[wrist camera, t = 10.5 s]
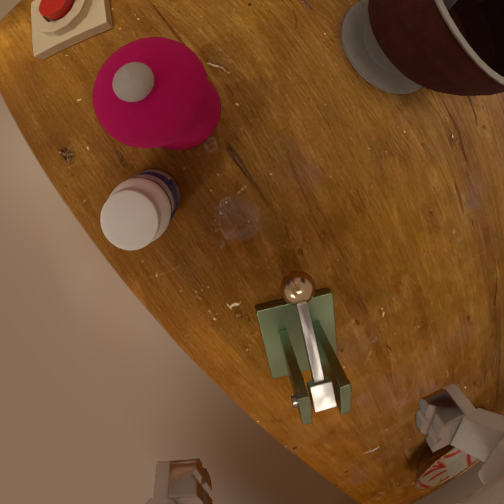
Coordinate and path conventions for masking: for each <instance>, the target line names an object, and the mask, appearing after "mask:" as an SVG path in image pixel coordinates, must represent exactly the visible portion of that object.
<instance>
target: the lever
mask: <svg viewBox="0 0 504 504" xmlns="http://www.w3.org/2000/svg"><path fill="white" fill-rule="evenodd" d="M280 290H281V295H282V297H283V298H284V300H285V301H286V302H288V303H289V304H291V305H295V306H296V309H297V313H298V318H299V322H300V326H301V331H302V335H303V340H304V344H305V349H306V353H307V358H308V362H309V367H310V371H311V376H312V380H310V381H307V387H308V391H309V396H310V401H311V405H312V407H313V409H314V411H315V412H319V411H323V410H326V409H330V408H333V407H336V406H337V405H336V399H335V394H334V389H333V384H332V381H331V380H330V379H329V378H328V377H327V376H325V377H324V374H323V369H322V365H321V360H320V355H319V351H318V346H317V341H316V337H315V332H314V328H313V324H312V319H311V315H310V310H309V306H308V302H309V301H310V300H311V299H312V298H313V296H314V294H315V283H314V280H313V279H312V277H311V276H310V275H309V274H308V273H306V272H303V271H293V272H290V273H289V274H287V275H286V276H285V277H284V278H283V280H282V282H281V287H280Z"/></svg>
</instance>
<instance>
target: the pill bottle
mask: <svg viewBox="0 0 504 504" xmlns="http://www.w3.org/2000/svg"><path fill="white" fill-rule="evenodd" d="M179 198H180V196H179V189H178V186H177V184H176V183H175V181H174V180H173V178H172V177H171V176H169V175H168V174H167V173H165V172H163V171H160V170H153V169H152V170H145V171H143V172H140V173H138V174H136V175H134V176H133V177H131V178H129V179H127V180H125V181H123V182H122V183H120V184H119V185H118V186H117V187H116V188H115V189H114V190H113V191H112V193H111V194H110V196H109V198H108V200H107V201H106V202H105V204H104V206H103V208H102V211H101V216H100V223H101V228H102V231H103V233H104V235H105V236H106V238H107V239H108V240H109V241H110V242H111V243H112V244H113V245H115V246H116V247H118V248H121V249H124V250H138V249H141V248H143V247H145V246H147V245H148V244H149V243H150V242H152V241H154V240H156V239H157V238H159V237H160V236H161V235H162V234H163V233H164V232H165V230H166V229H167V227H168V225H169V223H170V221H171V219H172V217H173V215H174V214H175V212H176V210H177V207H178V204H179Z"/></svg>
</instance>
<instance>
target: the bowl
mask: <svg viewBox="0 0 504 504" xmlns="http://www.w3.org/2000/svg"><path fill="white" fill-rule="evenodd" d="M476 460H477V458H475V457H473V456H471V455H469V454H467V453H465V452H463V451H461V450H460V449H458V448H456V447H454V446H452V445H450V444H449V445H447V446H445V447H443V448H441V449H439V450H437V451H435V452H432V451H431V449H430V448H428V450H427V451H426V453H425V454H424V456H423V457H422V459H421V461H420V464H419V466H418V469H417V473H416V480H415V488H416V489H418V490H424V489H428V488H431V487H434V486H437V485H439V484H441V483H444V482H445V481H447V480H449V479H451V478H453V477H454V476H456V475H458V474H459V473H460V472H462V471H463V470H465V469H466V468H467V467H469V466H470V465H471V464H473V463H474V462H475V461H476Z"/></svg>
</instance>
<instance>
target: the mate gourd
mask: <svg viewBox="0 0 504 504" xmlns="http://www.w3.org/2000/svg"><path fill="white" fill-rule="evenodd" d="M341 42H342V45H343V48H344V52H345V54H346V56H347V58H348V60H349V62H350V63H351V65H352V66H353V67H354V69H355V70H356V71H357V72H358V73H359V75H360V76H361V77H362V78H363V79H365V80H366V81H367V82H368V83H370V84H371V85H373V86H374V87H376V88H378V89H380V90H382V91H385V92H388V93H393V94H408V93H412V92H415V91H417V90H419V89H421V88H422V87H425V88H427V89H431V90H434V91H438V92H442V93H447V94H453V95H460V96H476V95H492V94H497V93H501V92H504V0H362V1H359V2H357V3H356V4H355V5H353V6H352V7H351V8H350V9H349V10H348V11H347V13H346V14H345V16H344V18H343V21H342V24H341Z"/></svg>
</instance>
